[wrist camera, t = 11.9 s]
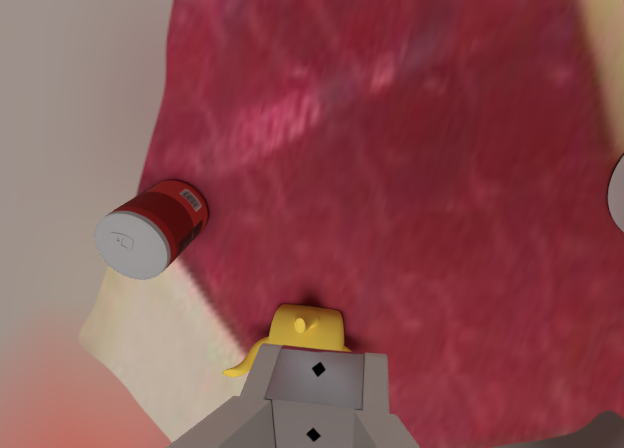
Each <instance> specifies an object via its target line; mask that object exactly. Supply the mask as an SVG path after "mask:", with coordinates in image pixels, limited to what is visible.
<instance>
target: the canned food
mask: <svg viewBox="0 0 624 448" xmlns="http://www.w3.org/2000/svg"><path fill="white" fill-rule="evenodd" d="M207 218H208V208H207V205H206V202H205V200H204V198H203V197H202V195H201V194H200V193H199V192H198V191H197V190H196V189H195V188H194V187H192V186H191V185H189V184H187V183H184V182H181V181H177V180H168V181H162V182H160V183H157V184H156V185H154V186H152V187H151V188H149V189H148V190H146V191H144V192H143V193H141V194H139V195H138V196H136V197H135V198H133V199H132V200H130V201H128V202H127V203H125V204H123V205H122V206H120V207H119V208H117V209H115V210H114V211H113V212H111V213H109V214H108V215H106V216H105V217H104V218H103V219H102V220H100V222H99V223H98V224H97V227H96V229H95V243H96V246H97V249H98V251H99V253H100V255H101V256H102V258H103V259H104V260H105V262H106V263H107V264H108V265H109V266H110V267H112V268H113V269H114V270H116V271H117V272H119V273H121V274H122V275H125V276H127V277H130V278H134V279H140V280H145V279H151V278H154V277H156V276H158V275H159V274H160V273H162V272H163V271H164V270H165V269H166V268H167V267H168V266H169V265H170V264H171V263H172V262H173V261H174V260H175V259H176V258H177V257H178V256H179V255H180V253H181V252H182V251H183V250H184V249H185V248H186V247H187V246H188V245H189V244H190V243H191V242H192V241H193V240H194V239H195V237H196V236H197V235H198V234H199V233H200V232H201V231H202V230H203V229H204V227H205V225H206V222H207Z"/></svg>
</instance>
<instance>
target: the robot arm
mask: <svg viewBox="0 0 624 448" xmlns="http://www.w3.org/2000/svg"><path fill="white" fill-rule="evenodd" d="M608 205H609V210H610V213H611V216H612V218H613V220H614V221H615V223H616V224H617V226H618V227H619V228H620V229H621V230H622V231H623V232H624V156H623V157H622V159H621V160H620V162H619V163H618V165H617V167H616V169H615V170H614V173H613V175H612V178H611V181H610V184H609V190H608ZM363 376H364V378H363ZM167 448H420V447H419V445H418V444H417V443H416V441H415V440H414V438H413V437H412V436H411V434H410V433H409V432H408V430H407V429H406V427H405V426H404V425H403V423H402V422H401V421H400V419H399V418H398V417H397V415H395V414H389V390H388V358H387V355H386V354H376V353H365V356H364V353H361V352H349V351H337V350H325V349H314V348H306V347H297V346H289V345H276V344H268V343H263V344H262V345H261V346H260V347H259V349H258V352H257V354H256V357H255V359H254V362H253V364H252V367H251V369H250V372H249V375H248V377H247V380H246V382H245V385H244V387H243V390H242V392H241V395H240V397H239V396H233V397H232V398H230V399H229V400H228V401H226V402H225V403H224V404H223V405H221V406H220V407H219V408H217V409H216V410H215V411H213V412H212V413H211V414H209V415H208V416H207V417H206V418H204V419H203V420H202V421H200V422H199V423H198V424H196V425H195V426H194V427H193V428H191V429H190V430H189V431H187V432H186V433H185V434H183V435H182V436H181V437H180V438H178V439H177V440H176V441H174V442H173V443H172V444H171V445H169V446H168V447H167Z"/></svg>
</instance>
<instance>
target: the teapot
mask: <svg viewBox="0 0 624 448" xmlns="http://www.w3.org/2000/svg"><path fill="white" fill-rule="evenodd" d="M263 343H268V344H276V345H289V346H297V347H306V348H314V349H325V350H337V351H349V352H352V351H351V350H350V349H348V348H347V347H345V346H344V326H343V319H342V315H341V313H340V311H337V310H333V309H327V308H320V307H312V306H304V305H294V304H282V305H281V306H280V307H279V308H278V309H277V310H276V312H275V315H274V318H273V321H272V325H271V329H270V334H269V336H268V337H265V338H263V339H261V340H259V341H258V342H257V343H255V345H254V346H253V347H252V348H251V350H250V351H249V353H248V354H247V356H246V357H245V359H244V360H243V361H242V362H241V363H240V364H239V365H237V366H235V367H233V368H230V369H227V370H224V371H223V374H224V375H225V376H230V377H237V376H241V375H243V374H245V373H247V372H248V371H249V370H250V369H251V367H252V364H253V362H254V359H255V357H256V354H257V352H258V349H259V347H260V346H261V345H262V344H263Z"/></svg>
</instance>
